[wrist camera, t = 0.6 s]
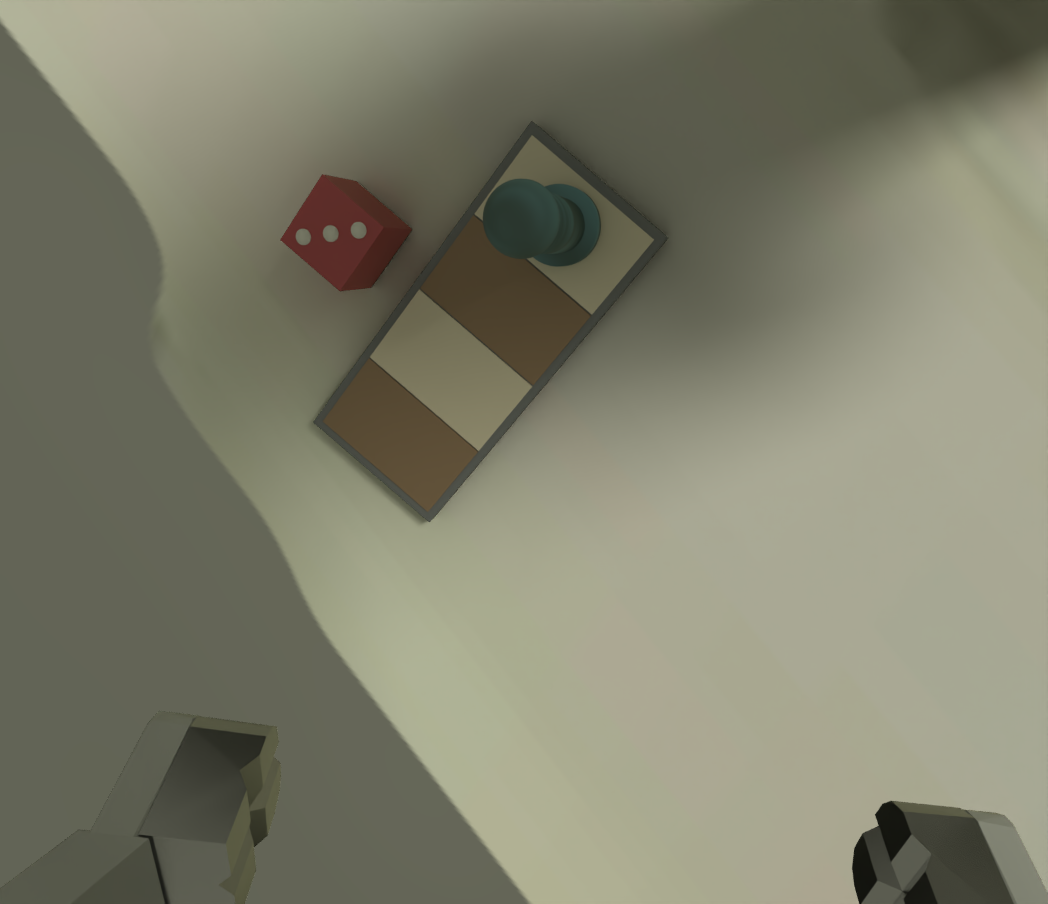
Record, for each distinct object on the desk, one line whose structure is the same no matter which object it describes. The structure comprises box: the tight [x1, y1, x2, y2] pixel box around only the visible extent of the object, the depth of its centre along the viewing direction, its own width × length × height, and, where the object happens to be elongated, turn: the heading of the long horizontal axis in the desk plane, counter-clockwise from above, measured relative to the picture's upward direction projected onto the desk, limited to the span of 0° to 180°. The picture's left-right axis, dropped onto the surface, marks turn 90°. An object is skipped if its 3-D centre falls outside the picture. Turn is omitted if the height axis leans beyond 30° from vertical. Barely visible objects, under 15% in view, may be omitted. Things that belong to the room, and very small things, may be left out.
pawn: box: [483, 179, 601, 267], centre depth 39 cm, size 4×4×12 cm
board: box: [313, 121, 668, 522], centre depth 48 cm, size 23×10×1 cm, turn 141°
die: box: [281, 174, 412, 291], centre depth 47 cm, size 4×5×5 cm
